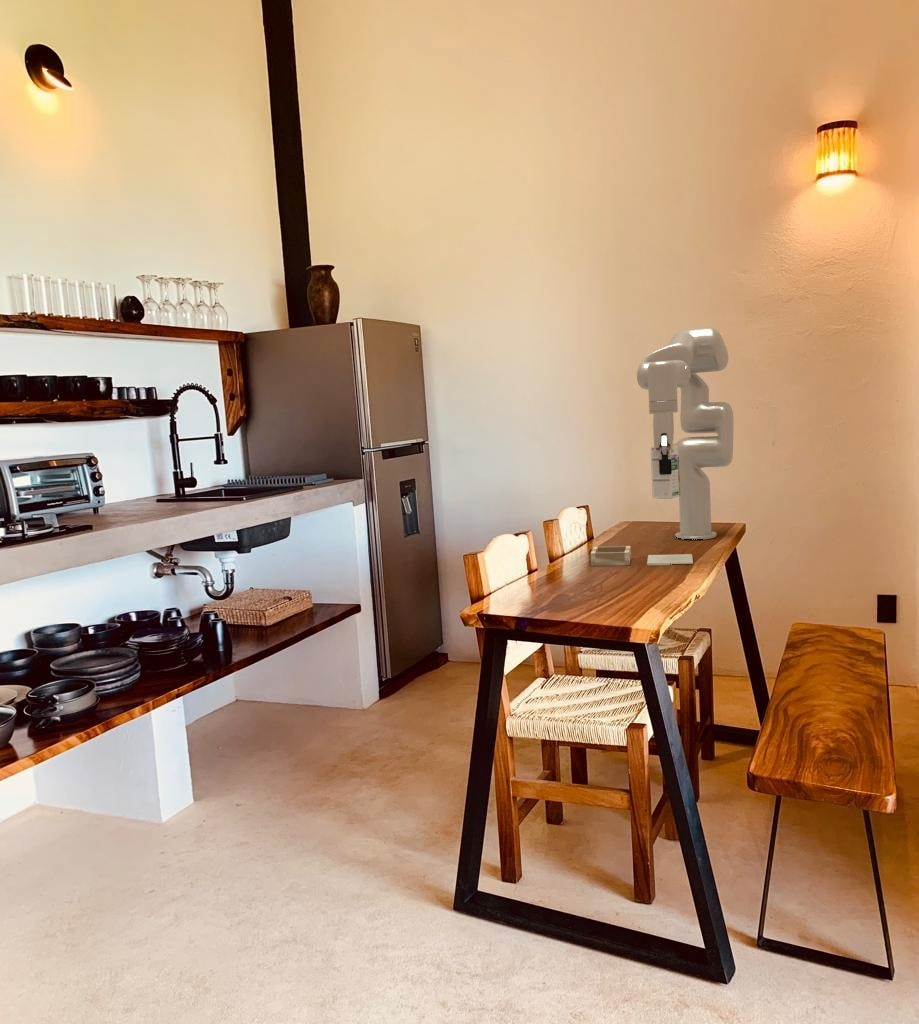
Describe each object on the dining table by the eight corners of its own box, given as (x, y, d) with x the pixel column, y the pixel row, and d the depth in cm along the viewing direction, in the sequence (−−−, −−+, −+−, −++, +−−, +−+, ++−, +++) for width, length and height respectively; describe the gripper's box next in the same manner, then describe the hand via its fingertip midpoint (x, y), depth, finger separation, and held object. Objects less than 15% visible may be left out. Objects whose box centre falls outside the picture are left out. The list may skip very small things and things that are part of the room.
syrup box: (672, 499, 230) (670, 445, 228) (651, 498, 233) (650, 445, 231) (680, 496, 234) (679, 443, 232) (660, 496, 238) (659, 444, 236)
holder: (594, 558, 246) (593, 546, 245) (631, 558, 243) (630, 545, 243) (591, 565, 236) (590, 553, 235) (629, 565, 233) (628, 552, 233)
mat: (648, 557, 243) (648, 555, 243) (691, 556, 240) (691, 554, 240) (647, 565, 231) (647, 563, 231) (693, 564, 228) (693, 562, 228)
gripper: (650, 407, 240) (652, 470, 242) (648, 409, 223) (650, 476, 225) (677, 405, 238) (679, 469, 240) (677, 407, 221) (680, 475, 224)
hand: (665, 472), depth 233 cm, fingers closed on syrup box, 7 cm apart
